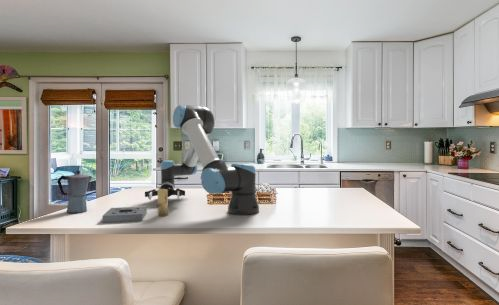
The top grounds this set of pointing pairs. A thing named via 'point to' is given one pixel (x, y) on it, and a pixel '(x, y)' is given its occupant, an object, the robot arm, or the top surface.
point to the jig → (125, 214)
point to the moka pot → (76, 191)
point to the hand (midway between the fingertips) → (164, 196)
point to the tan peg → (162, 202)
